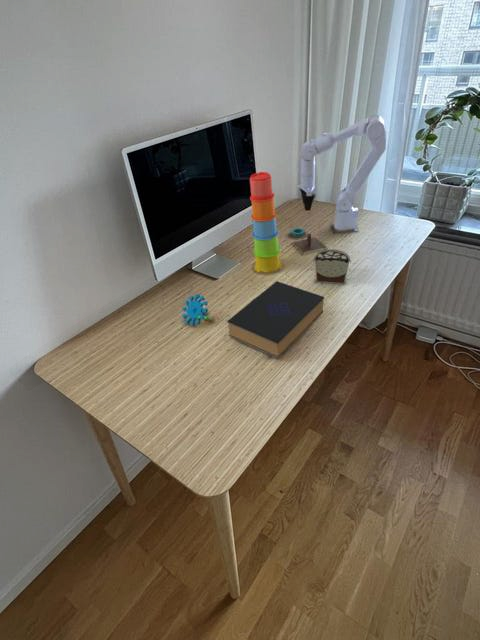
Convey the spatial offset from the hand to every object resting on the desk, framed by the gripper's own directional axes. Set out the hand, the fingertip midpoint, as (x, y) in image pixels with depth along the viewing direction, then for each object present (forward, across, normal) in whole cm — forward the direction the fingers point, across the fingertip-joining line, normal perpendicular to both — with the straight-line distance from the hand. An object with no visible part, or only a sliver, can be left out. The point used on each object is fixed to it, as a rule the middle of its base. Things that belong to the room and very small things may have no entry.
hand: (306, 206), depth 163 cm
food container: (+10, +44, +4) cm, 45 cm away
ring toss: (+9, +18, -1) cm, 21 cm away
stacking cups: (+10, +33, -18) cm, 39 cm away
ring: (+9, +8, -4) cm, 13 cm away
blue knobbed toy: (+10, +64, -41) cm, 77 cm away
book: (+10, +69, -16) cm, 72 cm away
